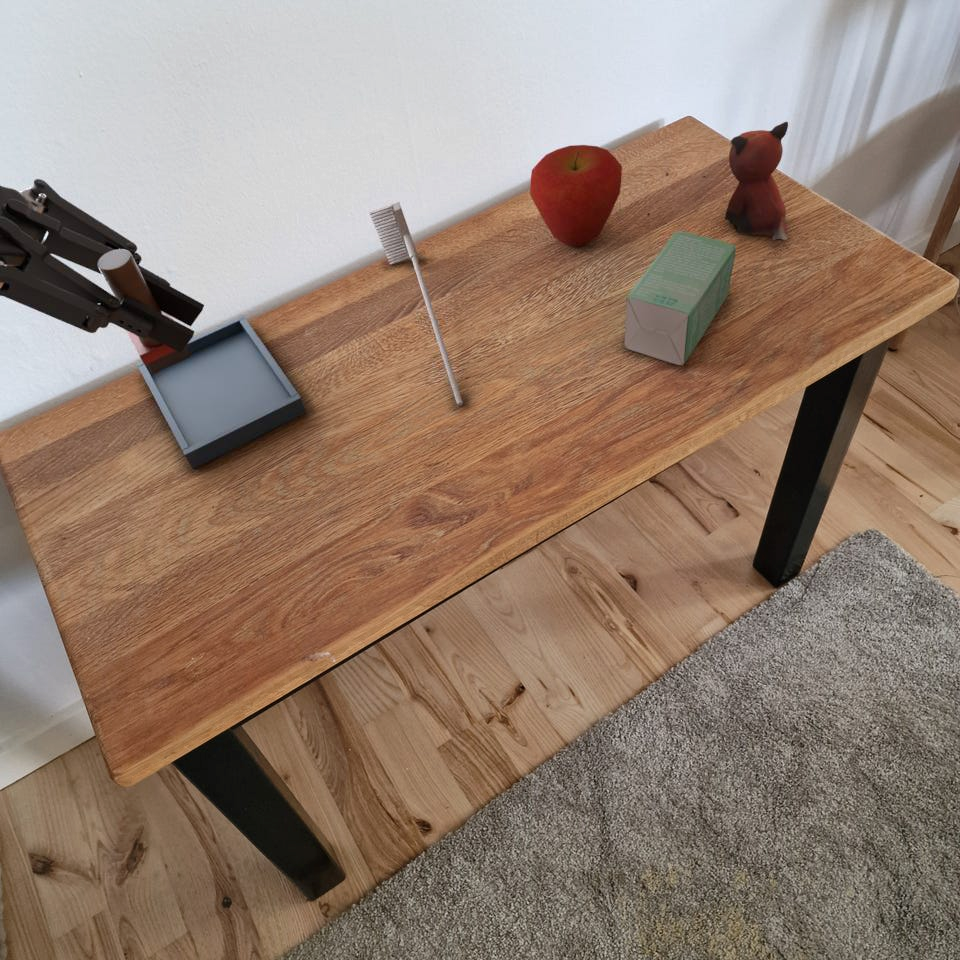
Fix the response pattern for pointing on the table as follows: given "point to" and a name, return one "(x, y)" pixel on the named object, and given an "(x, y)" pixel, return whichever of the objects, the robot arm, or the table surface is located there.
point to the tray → (223, 392)
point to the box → (678, 297)
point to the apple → (576, 191)
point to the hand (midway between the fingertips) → (192, 328)
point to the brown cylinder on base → (130, 282)
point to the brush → (406, 246)
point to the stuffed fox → (757, 183)
